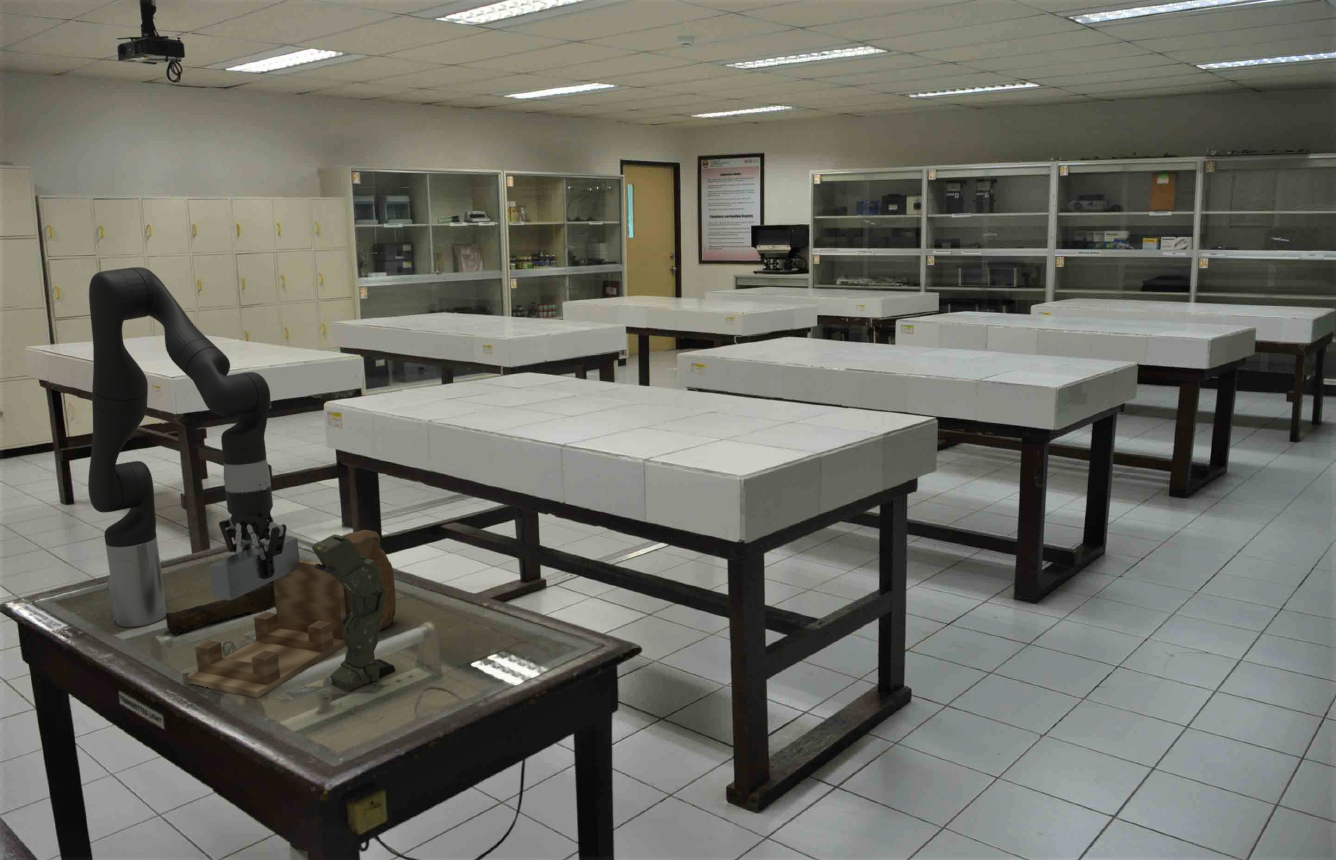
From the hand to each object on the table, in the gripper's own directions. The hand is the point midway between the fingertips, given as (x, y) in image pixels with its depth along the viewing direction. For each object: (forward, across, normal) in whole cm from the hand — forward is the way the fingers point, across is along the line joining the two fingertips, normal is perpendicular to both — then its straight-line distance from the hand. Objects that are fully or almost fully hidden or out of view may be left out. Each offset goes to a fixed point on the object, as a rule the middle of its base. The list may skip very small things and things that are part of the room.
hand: (258, 575), depth 175 cm
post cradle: (+18, 0, 0) cm, 18 cm away
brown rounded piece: (+18, +7, +20) cm, 28 cm away
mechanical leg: (+18, +20, +1) cm, 27 cm away
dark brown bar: (+18, -25, +15) cm, 34 cm away
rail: (+1, 0, 0) cm, 1 cm away
